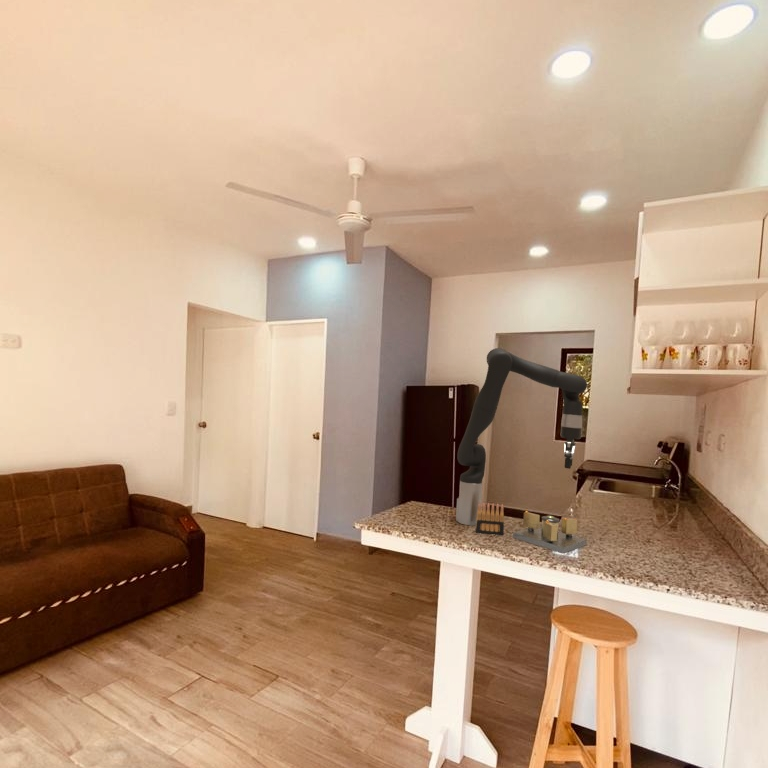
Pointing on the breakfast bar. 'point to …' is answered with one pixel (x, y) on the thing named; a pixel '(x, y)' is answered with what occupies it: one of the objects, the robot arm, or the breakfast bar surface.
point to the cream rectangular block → (569, 526)
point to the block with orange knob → (531, 521)
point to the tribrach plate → (537, 538)
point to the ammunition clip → (490, 520)
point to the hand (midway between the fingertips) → (568, 467)
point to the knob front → (550, 531)
